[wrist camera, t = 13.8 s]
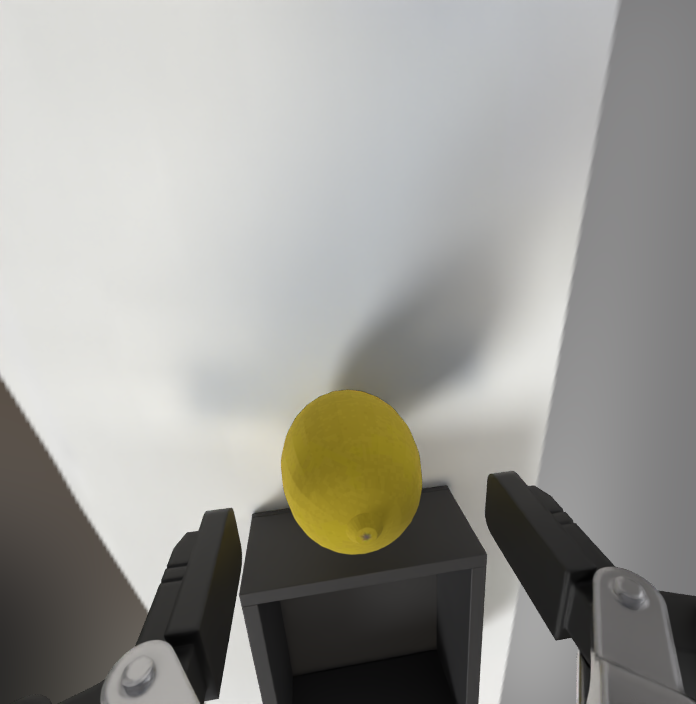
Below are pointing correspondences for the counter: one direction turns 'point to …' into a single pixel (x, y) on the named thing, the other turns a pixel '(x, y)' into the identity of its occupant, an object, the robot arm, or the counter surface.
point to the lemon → (351, 472)
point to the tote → (367, 612)
